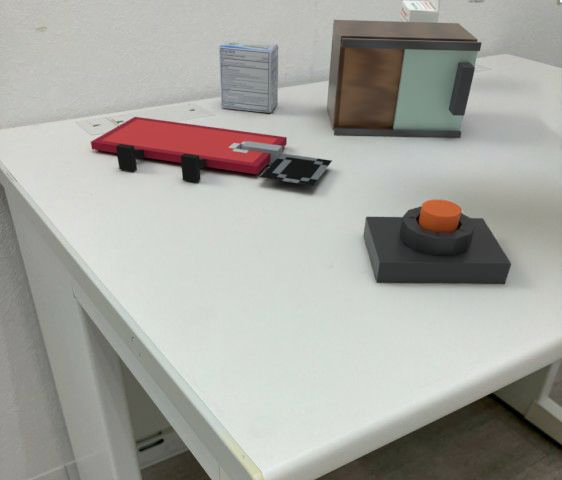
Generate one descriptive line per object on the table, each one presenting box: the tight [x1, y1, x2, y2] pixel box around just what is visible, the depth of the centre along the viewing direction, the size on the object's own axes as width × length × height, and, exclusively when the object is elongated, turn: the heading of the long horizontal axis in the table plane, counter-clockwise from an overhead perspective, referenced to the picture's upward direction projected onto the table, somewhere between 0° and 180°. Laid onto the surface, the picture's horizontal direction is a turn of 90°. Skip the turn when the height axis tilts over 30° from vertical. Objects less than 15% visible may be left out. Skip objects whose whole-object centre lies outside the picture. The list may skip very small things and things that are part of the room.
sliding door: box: [393, 49, 479, 131], centre depth 80 cm, size 10×3×11 cm, turn 92°
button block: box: [363, 205, 512, 285], centre depth 56 cm, size 12×9×4 cm
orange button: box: [419, 198, 462, 232], centre depth 55 cm, size 4×4×2 cm
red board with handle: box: [90, 116, 333, 186], centre depth 74 cm, size 30×3×15 cm
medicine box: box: [218, 39, 279, 114], centre depth 88 cm, size 8×4×9 cm, turn 76°
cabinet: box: [326, 19, 482, 138], centre depth 84 cm, size 18×12×12 cm, turn 92°
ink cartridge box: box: [399, 0, 441, 23], centre depth 99 cm, size 9×5×15 cm, turn 0°
